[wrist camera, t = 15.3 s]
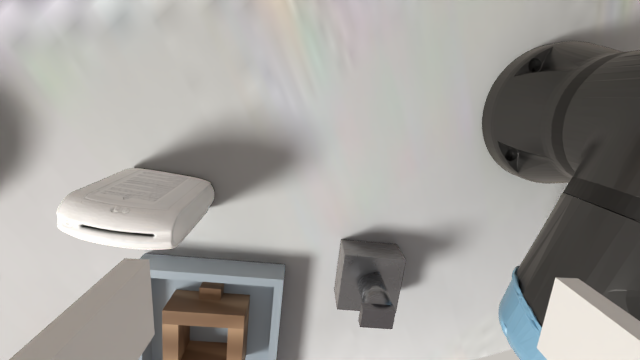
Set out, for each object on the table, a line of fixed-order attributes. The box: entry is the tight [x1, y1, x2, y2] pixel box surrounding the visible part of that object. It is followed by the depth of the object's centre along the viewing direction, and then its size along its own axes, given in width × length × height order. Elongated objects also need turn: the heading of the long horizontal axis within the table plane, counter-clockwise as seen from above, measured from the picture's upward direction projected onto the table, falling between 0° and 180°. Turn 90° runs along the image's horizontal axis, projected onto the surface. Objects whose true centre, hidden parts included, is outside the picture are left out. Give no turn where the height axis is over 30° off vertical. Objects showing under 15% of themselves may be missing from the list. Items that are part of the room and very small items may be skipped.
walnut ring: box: [162, 282, 250, 360], centre depth 40 cm, size 10×9×4 cm
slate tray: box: [138, 254, 285, 360], centre depth 41 cm, size 17×17×4 cm
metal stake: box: [334, 239, 406, 329], centre depth 37 cm, size 7×7×10 cm
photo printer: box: [57, 168, 215, 250], centre depth 32 cm, size 10×4×12 cm, turn 79°
